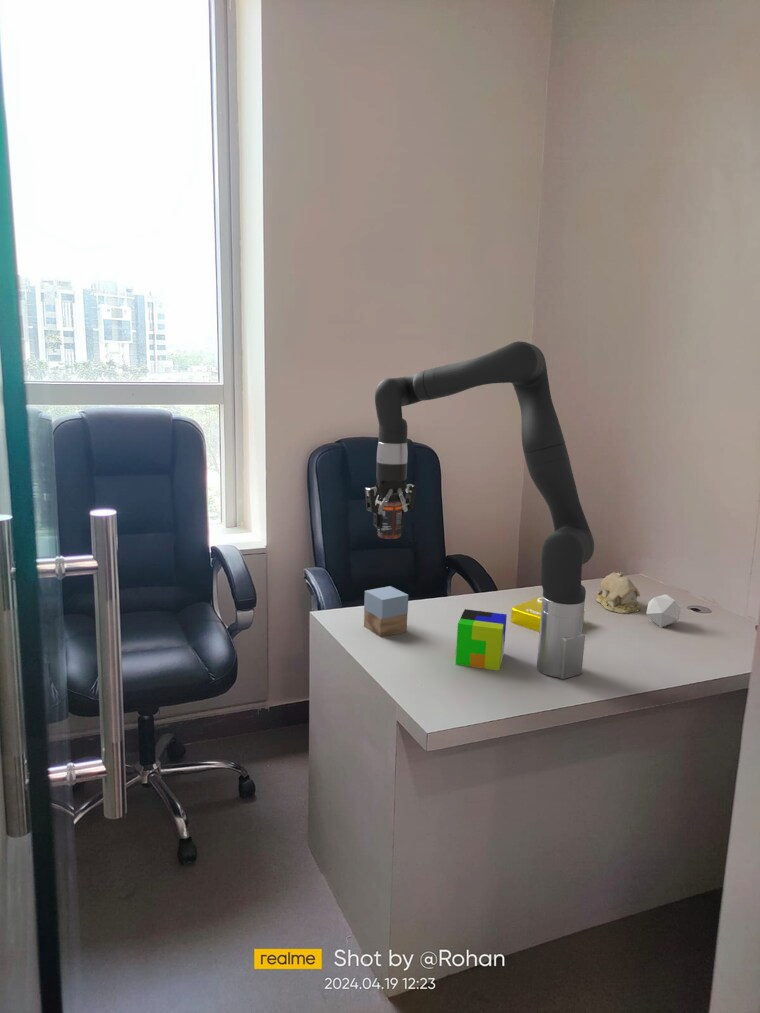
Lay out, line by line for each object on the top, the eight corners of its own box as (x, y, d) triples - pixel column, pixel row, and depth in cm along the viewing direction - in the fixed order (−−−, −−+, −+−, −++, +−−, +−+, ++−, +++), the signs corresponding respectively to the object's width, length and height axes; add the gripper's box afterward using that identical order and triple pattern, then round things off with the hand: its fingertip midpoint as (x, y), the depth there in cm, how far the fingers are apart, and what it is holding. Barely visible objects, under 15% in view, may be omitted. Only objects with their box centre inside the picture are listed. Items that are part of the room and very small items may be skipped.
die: (684, 632, 192) (689, 599, 196) (663, 620, 188) (669, 586, 192) (657, 633, 199) (663, 601, 202) (637, 622, 195) (643, 589, 199)
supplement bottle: (401, 534, 184) (403, 490, 182) (400, 540, 178) (401, 495, 176) (378, 533, 185) (379, 489, 182) (376, 539, 179) (377, 494, 176)
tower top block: (407, 613, 184) (408, 594, 183) (381, 619, 180) (382, 600, 179) (389, 604, 191) (390, 586, 190) (364, 609, 186) (364, 590, 185)
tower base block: (406, 632, 185) (407, 613, 184) (380, 637, 181) (380, 618, 180) (389, 621, 192) (390, 604, 191) (363, 627, 188) (364, 608, 187)
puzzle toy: (503, 653, 173) (506, 614, 171) (499, 670, 164) (502, 629, 162) (462, 648, 176) (464, 609, 174) (455, 664, 167) (457, 623, 164)
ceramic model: (648, 611, 206) (652, 578, 204) (616, 615, 202) (620, 581, 200) (616, 595, 219) (619, 564, 217) (585, 599, 215) (588, 567, 213)
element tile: (507, 622, 194) (508, 605, 193) (538, 610, 205) (539, 593, 204) (556, 639, 184) (558, 621, 183) (586, 624, 195) (587, 608, 194)
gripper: (374, 464, 170) (372, 533, 174) (424, 461, 178) (421, 527, 181) (358, 459, 177) (357, 526, 180) (408, 457, 184) (405, 521, 188)
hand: (389, 526), depth 181 cm, fingers closed on supplement bottle, 6 cm apart
